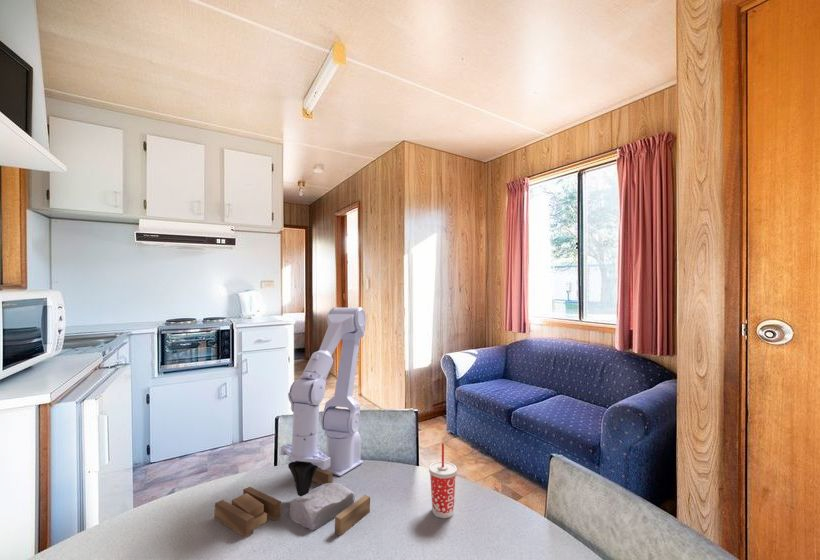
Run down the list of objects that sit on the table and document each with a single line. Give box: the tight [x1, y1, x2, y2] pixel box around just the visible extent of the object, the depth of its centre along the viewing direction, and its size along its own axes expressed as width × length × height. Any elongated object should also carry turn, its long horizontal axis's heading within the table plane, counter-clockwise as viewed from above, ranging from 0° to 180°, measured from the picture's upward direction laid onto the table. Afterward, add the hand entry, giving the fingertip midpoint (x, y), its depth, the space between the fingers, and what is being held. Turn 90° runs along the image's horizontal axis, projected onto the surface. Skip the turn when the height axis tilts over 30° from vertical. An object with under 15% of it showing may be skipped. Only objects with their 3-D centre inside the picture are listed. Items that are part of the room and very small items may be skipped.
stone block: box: [288, 482, 356, 531], centre depth 71 cm, size 12×5×10 cm
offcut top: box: [231, 493, 264, 519], centre depth 68 cm, size 3×7×2 cm, turn 53°
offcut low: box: [253, 512, 268, 531], centre depth 67 cm, size 4×8×2 cm, turn 59°
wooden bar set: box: [214, 466, 371, 539], centre depth 70 cm, size 23×26×3 cm
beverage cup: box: [428, 442, 458, 519], centre depth 71 cm, size 6×6×14 cm
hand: (303, 494), depth 74 cm, fingers closed
